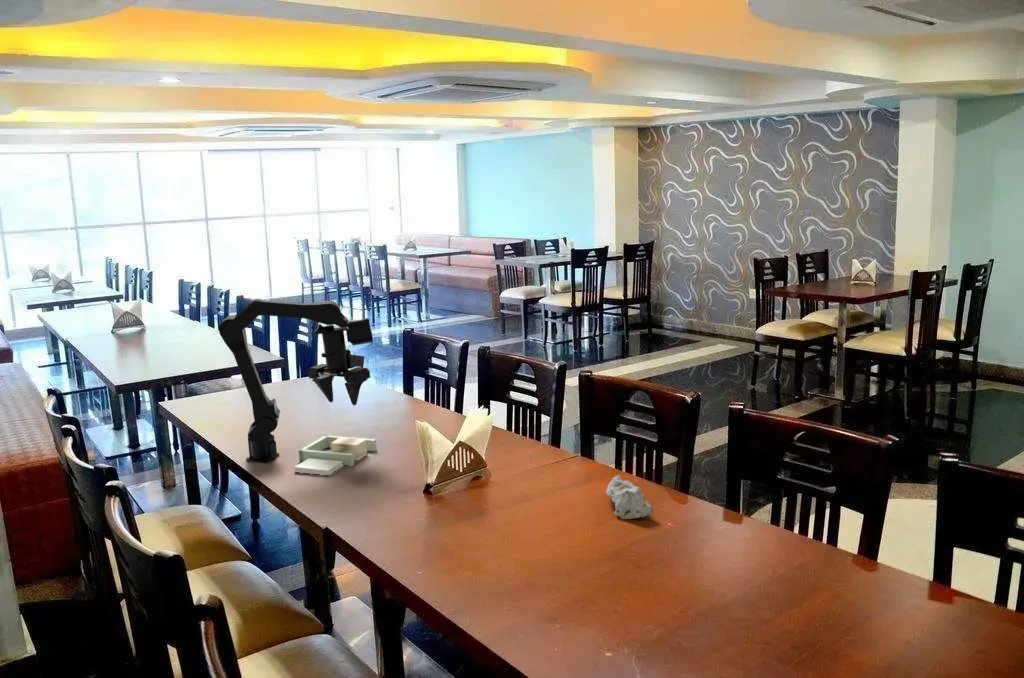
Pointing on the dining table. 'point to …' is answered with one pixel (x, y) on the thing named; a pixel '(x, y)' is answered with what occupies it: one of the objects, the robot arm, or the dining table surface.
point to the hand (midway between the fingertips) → (342, 403)
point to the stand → (318, 466)
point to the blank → (350, 447)
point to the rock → (628, 499)
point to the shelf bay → (316, 452)
